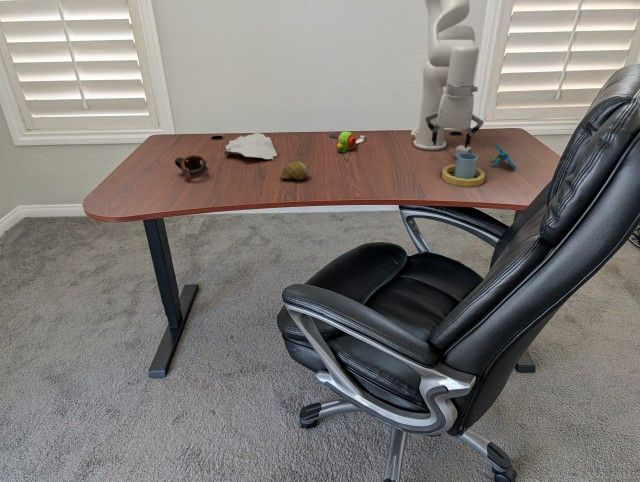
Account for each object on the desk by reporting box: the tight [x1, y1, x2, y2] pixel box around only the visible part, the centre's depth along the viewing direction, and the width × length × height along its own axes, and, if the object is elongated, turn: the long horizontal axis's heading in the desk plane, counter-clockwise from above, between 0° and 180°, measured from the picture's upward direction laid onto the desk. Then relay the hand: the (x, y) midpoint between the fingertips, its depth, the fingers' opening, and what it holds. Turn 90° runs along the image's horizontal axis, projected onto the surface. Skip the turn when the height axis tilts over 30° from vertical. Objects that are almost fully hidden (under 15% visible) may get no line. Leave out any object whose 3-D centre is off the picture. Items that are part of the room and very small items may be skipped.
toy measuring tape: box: [336, 130, 367, 153], centre depth 165 cm, size 6×20×7 cm, turn 145°
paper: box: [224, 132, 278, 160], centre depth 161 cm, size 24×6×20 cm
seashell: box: [280, 160, 309, 181], centre depth 140 cm, size 10×7×8 cm
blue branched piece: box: [491, 144, 516, 169], centre depth 146 cm, size 11×6×10 cm
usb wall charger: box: [449, 144, 473, 159], centre depth 154 cm, size 4×7×4 cm, turn 47°
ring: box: [441, 164, 486, 188], centre depth 139 cm, size 13×13×2 cm
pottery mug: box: [174, 154, 209, 182], centre depth 143 cm, size 12×9×8 cm
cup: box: [453, 153, 479, 179], centre depth 138 cm, size 6×6×8 cm
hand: (450, 145), depth 136 cm, fingers open, 9 cm apart
